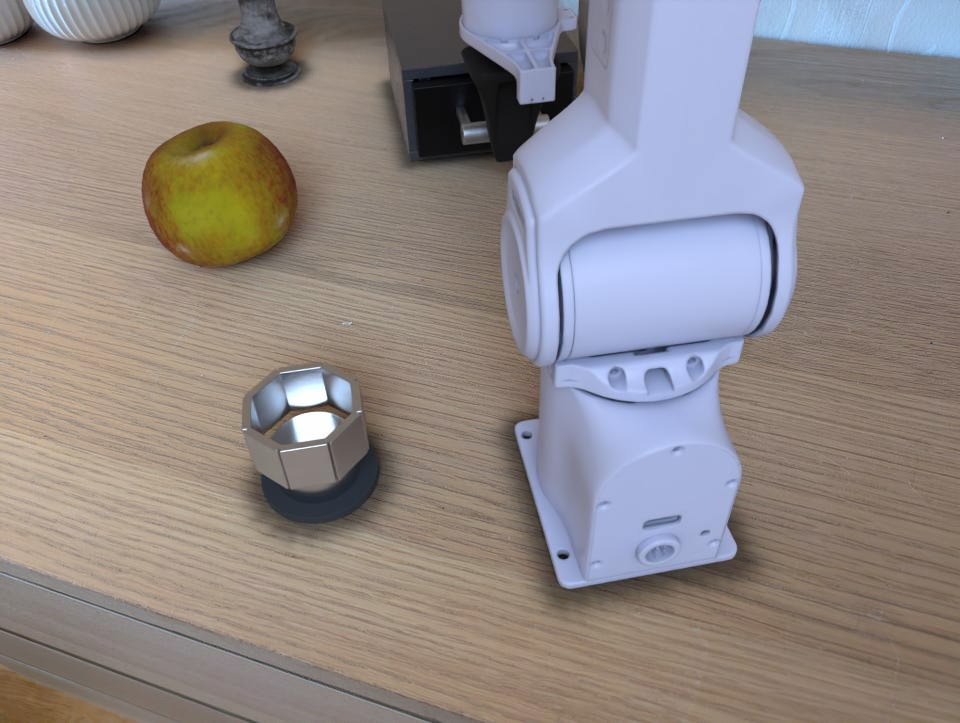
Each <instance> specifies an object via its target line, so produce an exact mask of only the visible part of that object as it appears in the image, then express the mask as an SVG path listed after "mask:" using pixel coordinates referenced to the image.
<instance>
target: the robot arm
mask: <svg viewBox="0 0 960 723" xmlns="http://www.w3.org/2000/svg"><path fill="white" fill-rule="evenodd" d="M461 1H462V15H461V17H460V20H459V31H460V36H461V38H462V39H463V41H465V42H466V43H467V44H469V45H470V46H468V47H465V48H464V49H463V50H462V51H461V55H462V57H463V60H464V62H465V64H466V67H467V69H468V72H469V74H470V76H471V78H472V80H473V82H474V84H475V85H476V87H477V89H478V92H479V95H480V99H481V103H482V107H483V111H484V116H485V121H486V126H487V131H488V135H489V140H490V144H491V147H492V150H493V151H492V153H493V156H494V158H495V160H496V162H497V163H507V162H512V167H511V169H510V170H509V171H508V173H507V192H506V204H505V212H504V213H503V216H502V218H501V223H500V230H499V231H500V232H499V234H500V235H499V252H500V254H499V255H500V267H501V278H502V287H503V294H504V301H505V302H504V303H505V308H506V313H507V316H508V317H507V319H508V322H509V327H510V331H511V334H512V337H513V340H514V344H515V346H516V348H517V350H518V351H519V353H520V354H522V355H523V356H524V357H526V358H527V359H528V360H529V362H530V363H531V364H532V365H533V366H535V367H538V368H539V367H540V369H539V370H540V371H539V376H540V377H539V400H538V401H539V402H538V418H533V419H526V420H521V421H518V422H517V423H516V424H515V425H514V437H515V439H516V443H517V446H518V449H519V454H520V456H521V460H522V463H523V467H524V471H525V474H526V477H527V480H528V484H529V488H530V491H531V494H532V498H533V501H534V503H535V504H534V505H535V509H536V511H537V516H538V518H539V522H540V525H541V529H542V533H543V536H544V539H545V542H546V545H547V549H548V552H549V556H550V559H551V563H552V566H553V570H554V573H555V576H556V580H557V582H558V584H559V585H560V587H562V588H565V589H567V590H572V589H573V590H574V589H578V588H584V587H589V586H595V585H600V584H605V583H611V582H616V581H623V580H627V579H632V578H636V577H642V576H643V577H644V576H648V575H655V574H660V573H665V572H666V573H667V572H670V571H676V570H681V569H687V568H693V567H698V566H703V565H708V564H714V563H720V562H725V561H730V560H732V559H734V558H735V556H736V555H737V552H738V545H737V543H736V540H735V539H734V536H733V534H732V533H731V530H730V528H729V526H728V522H729V520H730V517H731V513H732V510H733V506H734V503H735V500H736V497H737V494H738V490H739V487H740V484H741V480H742V473H743V469H742V463H741V460H740V457H739V454H738V451H737V450H736V448H735V446H734V444H733V441H732V439H731V437H730V434H729V432H728V430H727V427H726V425H725V420H724V417H723V412H722V408H721V404H720V384H719V382H720V374H721V369H723V368H724V367H727V366H729V365H734V364H737V363H739V362H740V358H741V355H742V351H743V348H744V347H743V346H744V344H745V340H746V339H745V338H750V339H755V338H762V337H765V336H766V335H769V334H771V333H772V332H773V331H775V330H776V329H777V327H778V326H779V324H781V322H782V320H783V318H784V316H785V314H786V312H787V310H788V308H789V306H790V305H791V302H792V300H793V296H794V293H795V290H796V285H797V278H798V267H799V266H798V265H799V264H798V262H799V258H798V243H797V236H798V224H799V216H800V210H801V204H802V200H803V197H804V193H805V189H806V187H805V184H804V183H803V180H802V177H801V175H800V174H799V171H798V169H797V166H796V163H795V161H794V159H793V158H792V155H791V154H790V153H789V152H788V150H787V149H786V147H785V146H784V144H783V143H782V141H781V140H779V139H778V138H777V137H776V135H775V134H773V133H772V132H771V131H770V130H769V129H768V128H767V127H766V126H765V125H763V124H762V123H760V122H759V121H758V120H757V119H755V118H754V117H753V116H751V115H750V114H748V113H747V112H746V111H744V110H743V109H742V108H740V102H741V97H742V93H743V88H744V83H745V77H746V73H747V69H748V64H749V58H750V54H751V49H752V44H753V40H754V35H755V30H756V25H757V20H758V16H759V11H760V5H761V0H589V13H588V29H587V44H586V60H585V75H584V74H583V76H584V78H583V90H582V92H581V93H580V94H579V95H578V96H577V97H576V99H575V100H574V101H573V102H572V103H571V104H570V105H569V106H568V107H567V108H565V109H564V110H563V111H562V112H561V113H559V114H558V115H557V116H556V117H554V118H553V119H552V120H551V121H550V122H548V123H547V124H546V125H545V126H544V127H542V128H541V129H540V130H539V131H537V132H536V133H535V134H534V130H535V126H536V122H537V119H538V115H539V112H540V110H541V107H542V105H543V102H549V101H554V100H555V83H556V81H557V79H558V77H559V74H560V69H561V65H560V63H559V61H558V59H557V58H556V56H555V53H556V48H557V44H558V40H559V36H560V33H562V32H564V31H565V32H571V31H574V30H576V29H577V28H578V15H576V13H575V12H574V11H573V9H571V8H569V7H559V0H461ZM533 134H534V135H533ZM525 437H529V438H525ZM560 555H565V556H567V558H565V559H563V558H560V557H559V556H560Z"/></svg>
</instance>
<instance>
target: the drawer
mask: <svg viewBox="0 0 960 723" xmlns="http://www.w3.org/2000/svg"><path fill="white" fill-rule="evenodd" d="M573 82H574V71H573V69H572V67H571V66H570V65H561V69H560V74H559V77H558V79H557V81H556V83H555V100H554V101H549V102H543V105H542V107H541V110H540V112H539V115H538V119H537V122H536V126H535V130H534V134H535V133H536V132H537V131H539V130H540V129H541V128H542V127H544V126H545V125H546V124H547V123H548V122H550V121H551V120H552V119H553V118H554V117H556V116H557V115H558V114H559V113H561V112H562V111H563V110H564V109H565V108H567V107H568V106H569V105H570V104H571V103H572V101H573ZM411 85H412V97H413V108H414V119H415V130H416V142H417V151H418V154H419V157H420V158H421V157H429V156H438V155H446V154H454V153H463V152H471V151H480V150H488V149H492V147H491V144H490V140H489V135H488V131H487V126H486V121H485V116H484V111H483V107H482V103H481V99H480V95H479V92H478V89H477V87H476V85H475V84H474V82H473V80H472V78H471V76H470V74H469V73H466V74H457V75H448V76H439V77H429V78H420V79H414V81H413V82H411ZM534 134H533V135H534Z"/></svg>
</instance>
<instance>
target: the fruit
mask: <svg viewBox="0 0 960 723" xmlns="http://www.w3.org/2000/svg"><path fill="white" fill-rule="evenodd" d="M141 178H142V179H141V200H142V206H143V210H144V215H145V216H146V219H147V222H148V225H149V227H150V228H151V231H152V232H153V233H154V235H155V237H156V238H157V240H158V241H159V242H160V243H161V245H162V246H163V247H164V248H165V249H166V250H167V251H169V252H170V253H171V254H173V255H174V257H176V258H178V259H179V260H181V261H183V262H185V263H189V264H192V265H195V266H199V267H205V268H206V267H208V268H213V267H214V268H215V267H227V266H231V265H236V264H239V263H243V262H245V261H247V260H249V259H252V258H254V257H256V256H259V255H261V254H262V253H264V252H267V251H268V250H270V249H271V248H273V247H274V246H275V245H276V244H278V243H279V242H280V241H282V239H283V238H284V236H285V235H286V234H287V233H288V232H289V230H290V229H291V226H292V224H293V222H294V220H295V218H296V214H297V210H298V188H297V183H296V179H295V175H294V173H293V171H292V168H291V166H290V165H289V163H288V161H287V159H286V158H285V156H284V155H283V154H282V152H281V151H280V149H279V148H278V147H277V146H276V145H275V144H274V143H273V142H272V140H270V139H269V138H268V137H267V136H266V135H264V134H263V133H261V132H260V131H259V130H257V129H255V128H253V127H251V126H249V125H246V124H245V123H244V124H243V123H240V122H235V121H228V120H218V121H217V120H216V121H209V122H205V123H202V124H199V125H196V126H193V127H191V128H188V129H186V130H184V131H181V132H179V133H178V134H176V135H174V136H172V137H171V138H169V139H167V140H166V141H164V142H163V143H161V144H160V145H158V147H156V148H155V150H154V151H152V153H151V154H150V155H149V157H148V159H147V160H146V163H145V166H144V169H143V172H142V177H141Z"/></svg>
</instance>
